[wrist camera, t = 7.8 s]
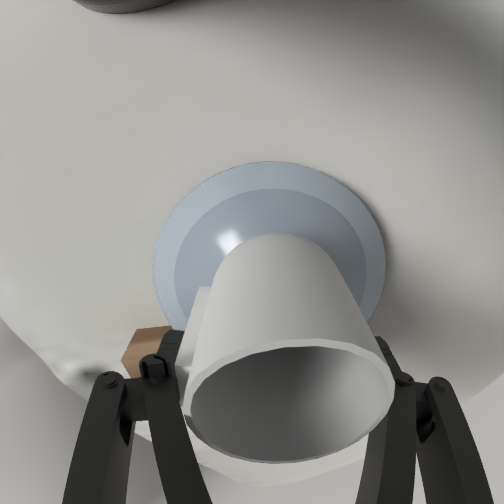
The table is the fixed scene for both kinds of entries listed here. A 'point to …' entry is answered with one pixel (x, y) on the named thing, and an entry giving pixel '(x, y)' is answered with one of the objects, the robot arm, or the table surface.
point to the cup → (284, 357)
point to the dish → (265, 231)
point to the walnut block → (142, 347)
